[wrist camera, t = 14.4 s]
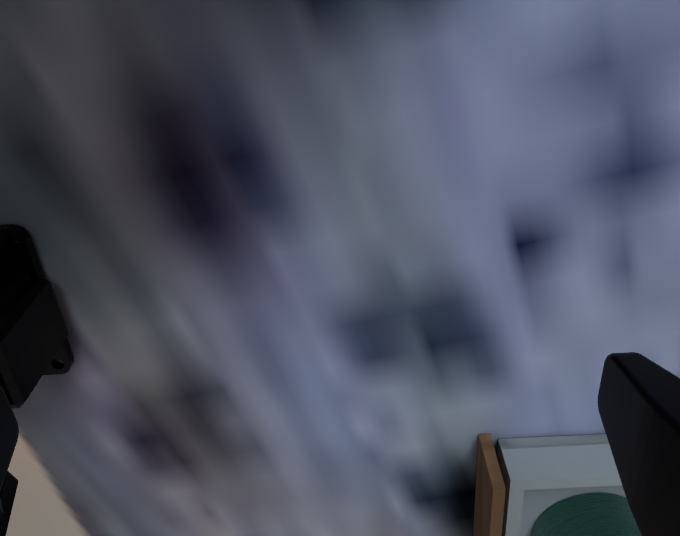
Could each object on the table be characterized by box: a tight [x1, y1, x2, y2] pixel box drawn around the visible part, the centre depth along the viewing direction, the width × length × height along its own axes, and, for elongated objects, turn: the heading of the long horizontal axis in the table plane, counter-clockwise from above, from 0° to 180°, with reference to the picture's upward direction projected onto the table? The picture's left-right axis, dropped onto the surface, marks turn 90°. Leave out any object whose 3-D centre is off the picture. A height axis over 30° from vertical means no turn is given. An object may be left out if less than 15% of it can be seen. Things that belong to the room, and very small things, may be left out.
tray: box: [497, 434, 626, 536], centre depth 29 cm, size 9×9×2 cm
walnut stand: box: [473, 434, 506, 536], centre depth 28 cm, size 10×10×3 cm
